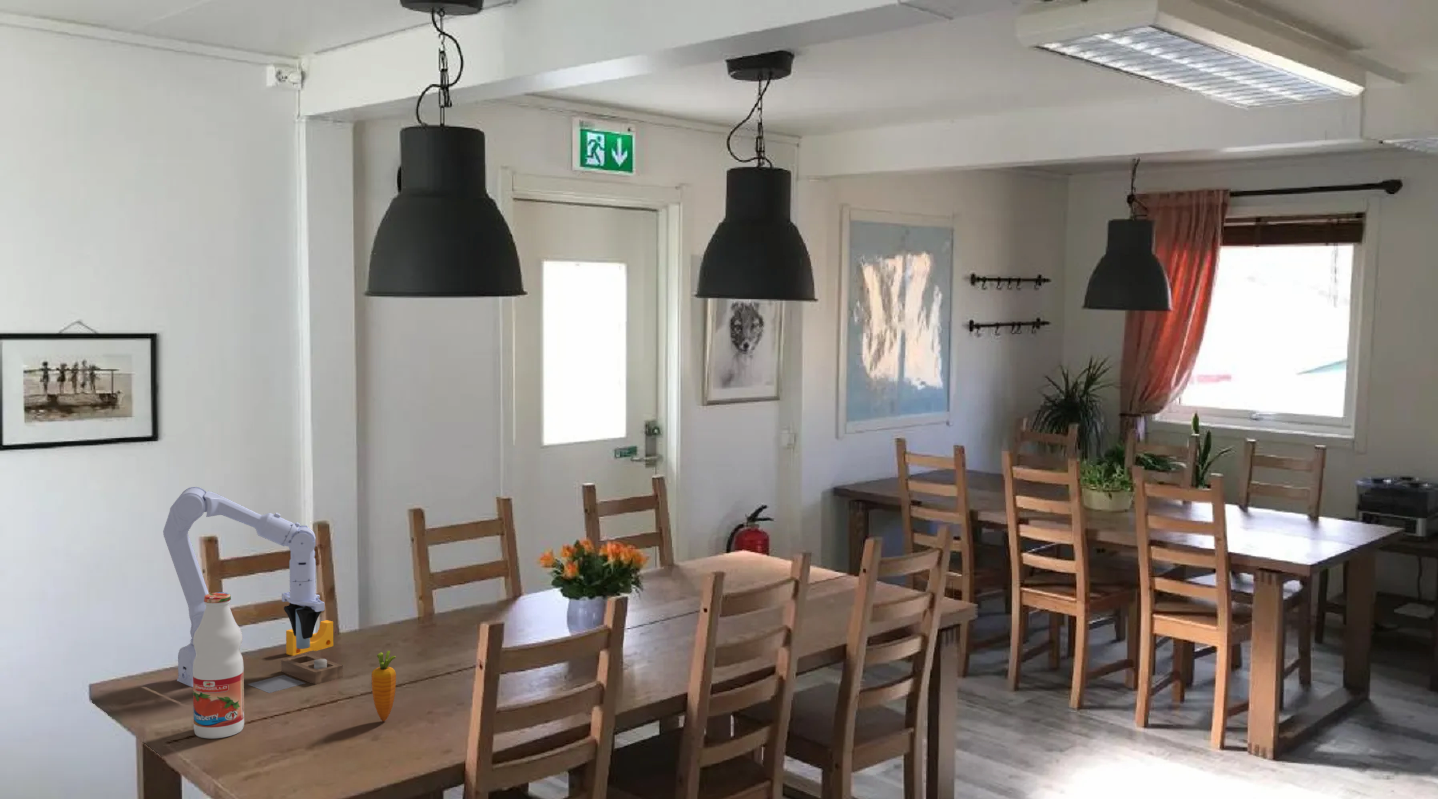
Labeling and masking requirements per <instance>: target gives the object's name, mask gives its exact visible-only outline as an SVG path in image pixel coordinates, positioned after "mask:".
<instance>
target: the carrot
mask: <svg viewBox="0 0 1438 799" xmlns="http://www.w3.org/2000/svg"><path fill="white" fill-rule="evenodd" d="M390 653H391V650H386V653H385V658H384V653H383V651H382V652H379V653H378V654H377V655H376V657H377V659H378V664H379V666H378V667H376V668H375V669H373V670H372V671H371V692H372V694H371V695H372V698H373V703H374V707H375V710H376V713H377V715H378V716H379V719H380V720H381V721H382V722H383V723H384V722H385V721H387V720H388V718H389V716H390V714H391V711H392V709H393V706H394V701H395V696H396V688H397V687H396V686H397V685H396V684H397V672H396V670H395V669H394V668H393V667H391V666H389V665H390V663H391V662H392V661H393V660H394V659H396V658H397V657H396V655H392V656H390V655H391V654H390Z"/></svg>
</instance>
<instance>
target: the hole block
mask: <svg viewBox="0 0 1438 799" xmlns="http://www.w3.org/2000/svg"><path fill="white" fill-rule="evenodd" d="M280 661H281V662H280V663H281V664H280V665H281V666H280V668H281V669H280V670H281V673H284V674H286V675H287V676H290V677H295V678H297V679H299V680H302V681H303V682H307V683H310V684H313V685H317V686H318V685H320V684H323V683H327V682H331V681H335V680H338V679H341V678H343V677H344V674H343V673H344V670H343V669H344V668H343V665H342V664H340V663H337V662H335V661H331V660H328V659H326V658H324V657H319V656H317V655H314V654H311V653H308V652H306V653H302V654H298V655H294V656H291V657H288V658H283V659H281V660H280Z"/></svg>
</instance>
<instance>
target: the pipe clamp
mask: <svg viewBox="0 0 1438 799" xmlns="http://www.w3.org/2000/svg"><path fill="white" fill-rule="evenodd" d="M285 641H286V642H285V650H286V651H285V654H286V655H289V656H291V657H295V656H299V655H303V654H306V653H308V652H312V651H314V652H317V651H321V650H324V649H328V648H331V647H334V621H333V620H332V621H331V620H327V619H326V620H321V621H320V622H319V628H318V629H317V632H315V633H314V632H313V636H312V637H311V638H310V647H309V648H305V649H298V648H296V636H294V633H293V630H292V628H290V629H286V630H285Z"/></svg>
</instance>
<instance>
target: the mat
mask: <svg viewBox="0 0 1438 799" xmlns="http://www.w3.org/2000/svg"><path fill="white" fill-rule="evenodd" d="M305 684H306V682H305V681H301V680H298V679H295V678H293V677H291V676H289V675H285V674H282V675H278V676H273V677H270V678H267V679H263V680H258V681H254V682H251V683H247V685H248V686H250V687H253V688H255V689H257V690H260V691H263V692H265V693H267V694H272V693H276V692H279V691H282V690H286V689H290V688H294V687H298V686H302V685H305Z"/></svg>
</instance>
